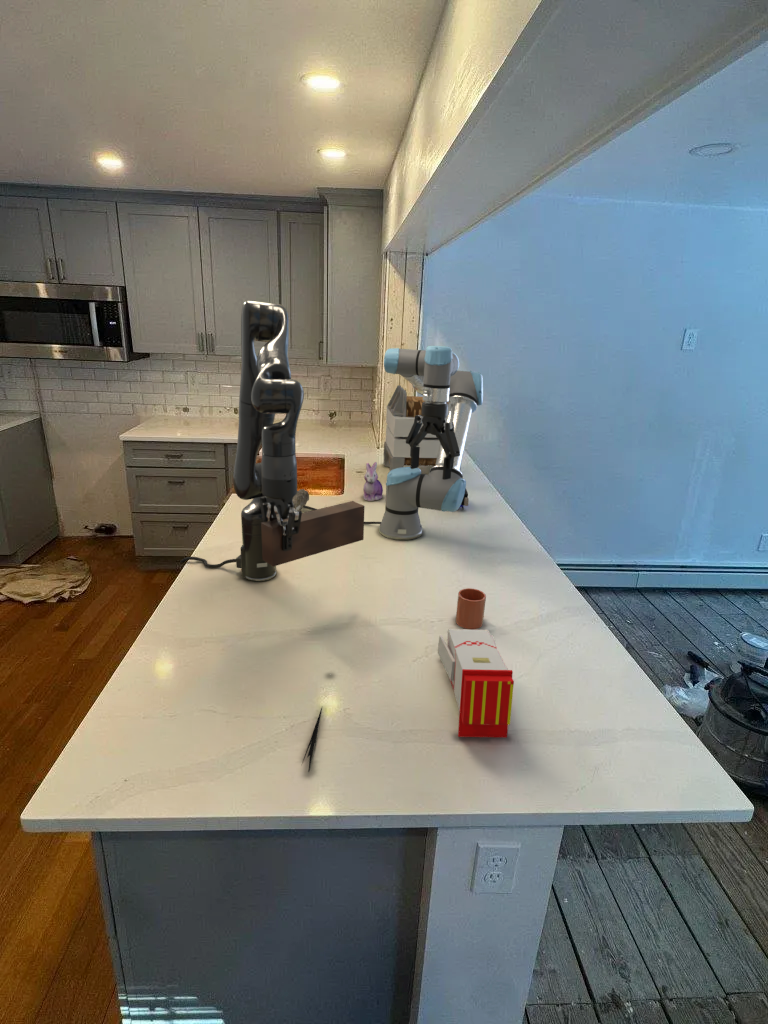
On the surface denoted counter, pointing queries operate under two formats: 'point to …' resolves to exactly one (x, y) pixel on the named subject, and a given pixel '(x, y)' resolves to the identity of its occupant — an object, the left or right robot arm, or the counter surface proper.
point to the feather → (313, 740)
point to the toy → (478, 682)
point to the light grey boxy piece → (406, 432)
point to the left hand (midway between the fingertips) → (280, 546)
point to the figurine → (372, 484)
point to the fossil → (300, 499)
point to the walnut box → (314, 533)
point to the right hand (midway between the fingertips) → (430, 473)
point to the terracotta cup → (470, 608)
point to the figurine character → (465, 500)
